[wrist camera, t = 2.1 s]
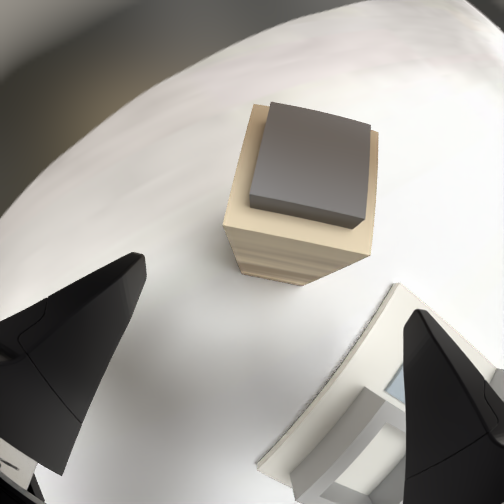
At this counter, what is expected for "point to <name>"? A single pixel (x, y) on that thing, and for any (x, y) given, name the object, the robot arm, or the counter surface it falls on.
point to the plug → (302, 194)
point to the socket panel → (361, 417)
